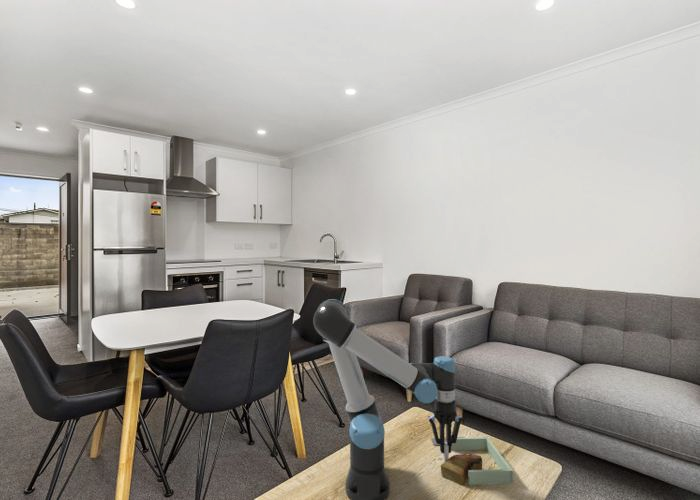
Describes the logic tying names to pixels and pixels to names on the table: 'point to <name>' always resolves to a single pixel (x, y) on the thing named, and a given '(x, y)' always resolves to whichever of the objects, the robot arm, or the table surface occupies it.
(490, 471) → the mint green u-channel
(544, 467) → the table surface
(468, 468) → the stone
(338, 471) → the table surface
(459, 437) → the trowel
